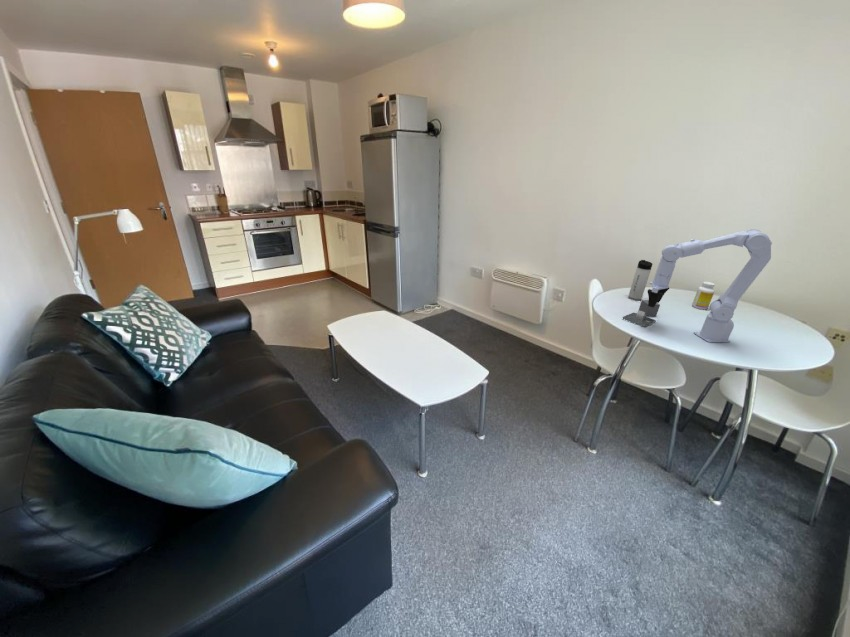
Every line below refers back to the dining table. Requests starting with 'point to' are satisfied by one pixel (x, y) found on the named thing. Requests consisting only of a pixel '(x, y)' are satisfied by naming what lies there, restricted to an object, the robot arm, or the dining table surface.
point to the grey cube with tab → (649, 308)
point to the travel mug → (640, 280)
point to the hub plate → (639, 319)
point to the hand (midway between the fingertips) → (653, 304)
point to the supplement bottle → (704, 296)
